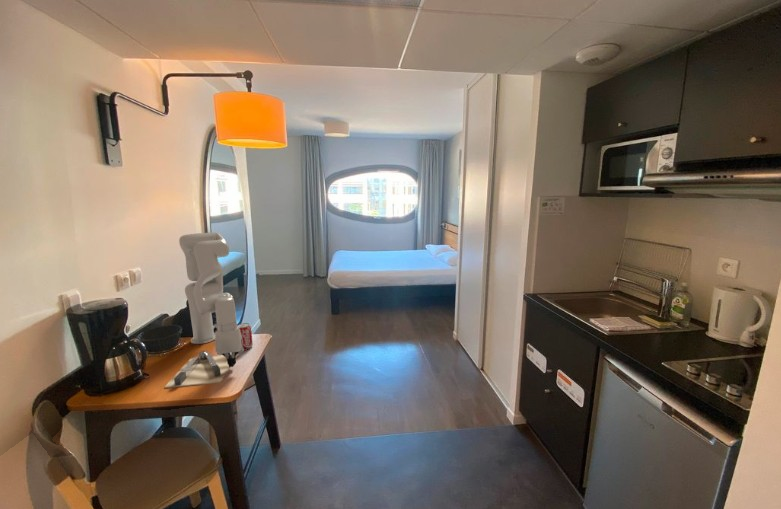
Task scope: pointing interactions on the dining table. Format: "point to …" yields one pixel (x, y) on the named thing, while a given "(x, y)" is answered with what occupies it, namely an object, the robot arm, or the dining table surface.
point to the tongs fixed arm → (186, 371)
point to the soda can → (246, 335)
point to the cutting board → (202, 373)
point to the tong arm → (210, 362)
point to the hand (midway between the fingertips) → (232, 365)
